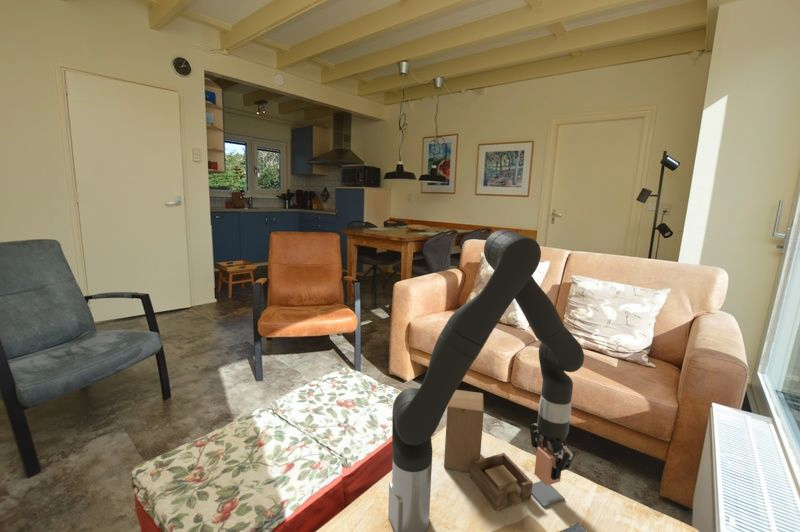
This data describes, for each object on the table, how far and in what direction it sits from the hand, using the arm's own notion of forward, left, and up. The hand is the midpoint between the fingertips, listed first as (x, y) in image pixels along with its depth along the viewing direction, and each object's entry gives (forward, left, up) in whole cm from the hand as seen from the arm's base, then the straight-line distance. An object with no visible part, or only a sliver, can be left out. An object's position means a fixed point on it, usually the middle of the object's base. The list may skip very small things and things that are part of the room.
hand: (547, 471), depth 100 cm
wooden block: (-14, +19, -7) cm, 25 cm away
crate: (-10, +6, -7) cm, 14 cm away
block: (0, 0, -2) cm, 2 cm away
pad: (0, 0, -7) cm, 7 cm away
